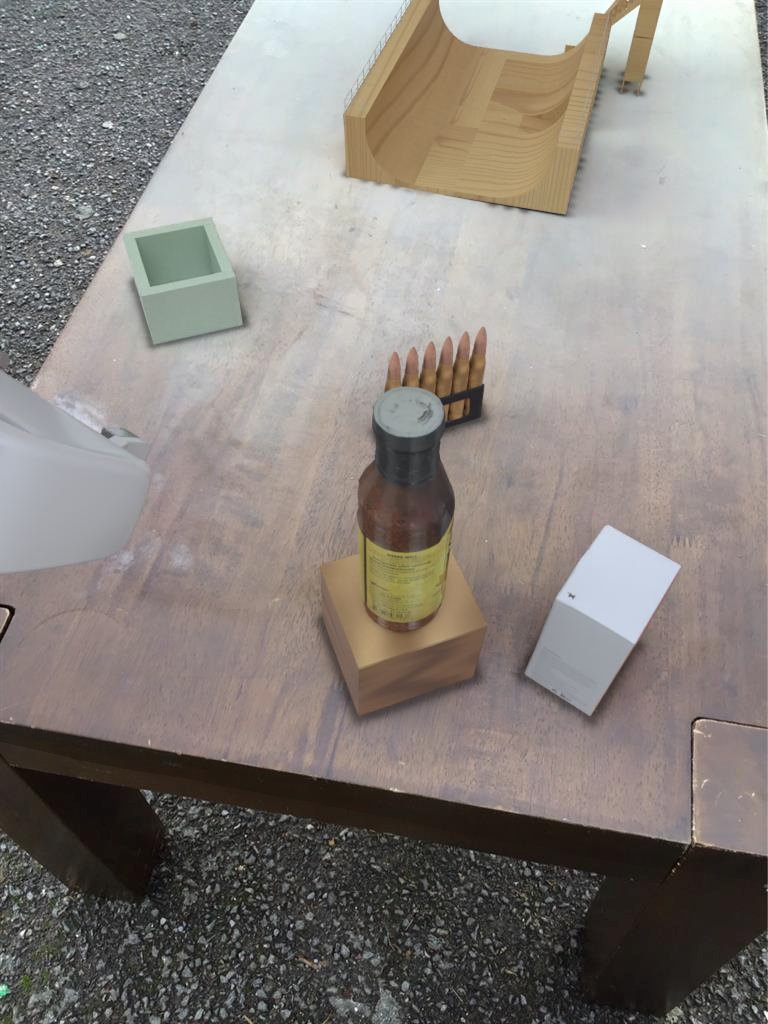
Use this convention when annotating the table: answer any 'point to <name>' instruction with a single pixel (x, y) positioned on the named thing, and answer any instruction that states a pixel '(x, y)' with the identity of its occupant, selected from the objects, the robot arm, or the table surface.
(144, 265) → the holder
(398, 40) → the skate ramp
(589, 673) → the small box
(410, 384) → the ammunition clip
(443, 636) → the wooden stand
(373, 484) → the sauce bottle
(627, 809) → the table surface
